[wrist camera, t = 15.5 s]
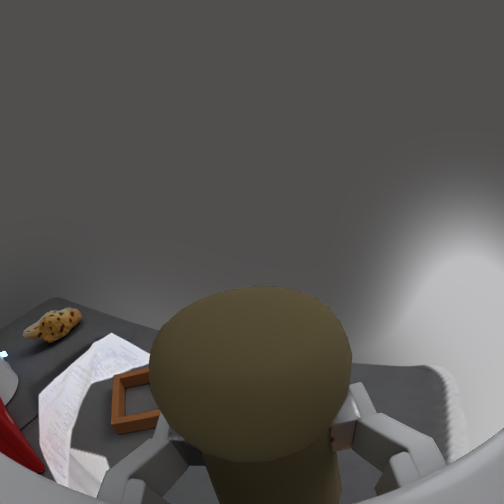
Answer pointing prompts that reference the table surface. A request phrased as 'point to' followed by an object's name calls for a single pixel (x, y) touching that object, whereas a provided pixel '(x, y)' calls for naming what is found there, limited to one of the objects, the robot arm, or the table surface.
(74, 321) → the toy
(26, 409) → the table surface
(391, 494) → the robot arm
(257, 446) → the pepper shaker
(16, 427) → the fire alarm
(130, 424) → the frame
